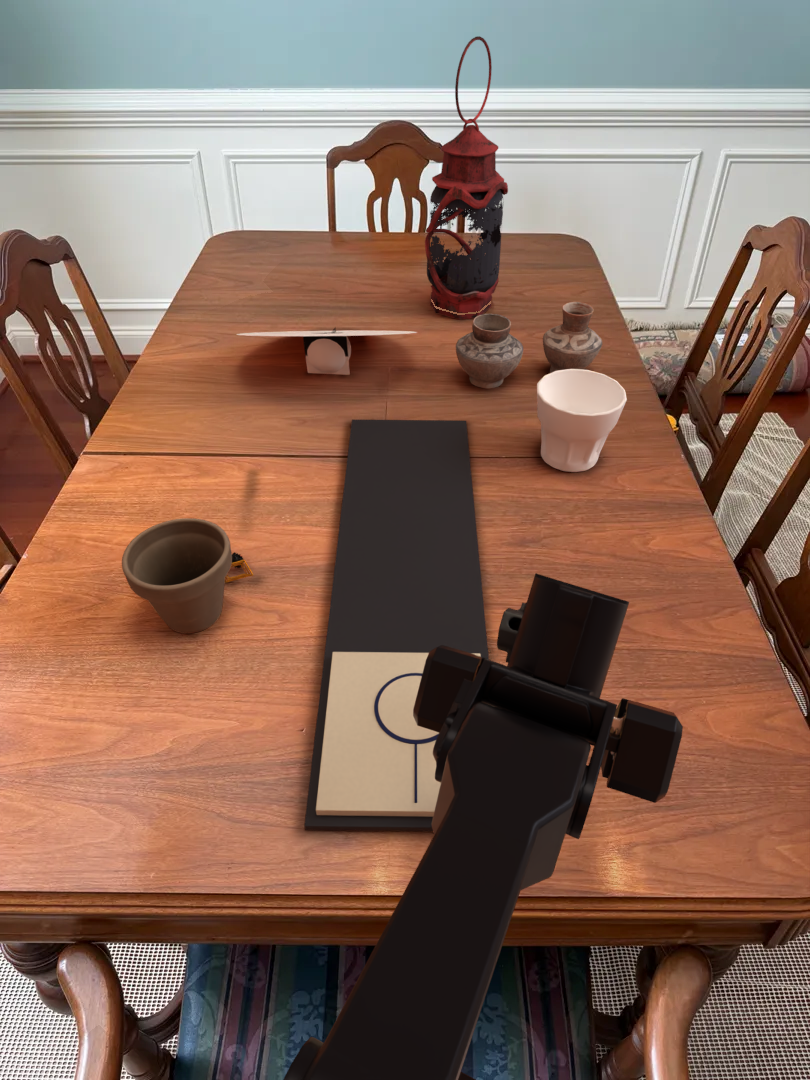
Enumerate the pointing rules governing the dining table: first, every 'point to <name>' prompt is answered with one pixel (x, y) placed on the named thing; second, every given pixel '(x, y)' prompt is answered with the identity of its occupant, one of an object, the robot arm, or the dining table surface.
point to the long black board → (393, 621)
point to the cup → (577, 416)
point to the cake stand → (327, 347)
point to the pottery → (500, 353)
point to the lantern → (474, 189)
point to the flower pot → (180, 571)
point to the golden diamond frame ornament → (238, 563)
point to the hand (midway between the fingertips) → (548, 702)
